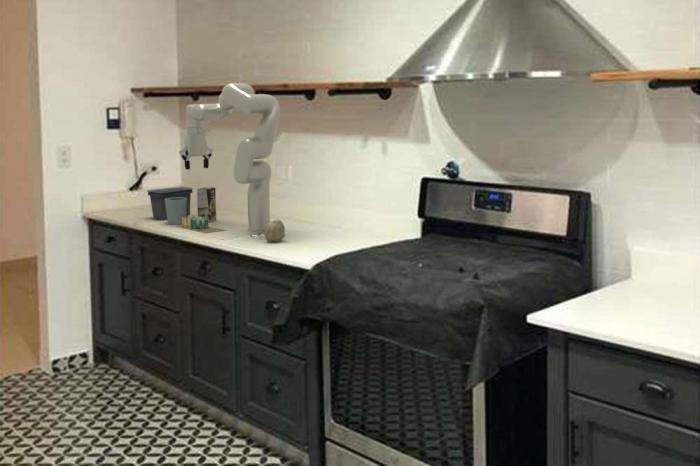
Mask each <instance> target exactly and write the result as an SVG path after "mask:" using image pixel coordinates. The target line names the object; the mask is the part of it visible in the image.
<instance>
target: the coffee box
mask: <svg viewBox="0 0 700 466" xmlns="http://www.w3.org/2000/svg"><path fill="white" fill-rule="evenodd" d="M216 194H217V193H216V187H214V186H213V187H201V188H197V189H196V201H197V202H196V206H197V217H202V218H206V219H208V224H209V223H213V222H215V221H217V201H216V200H217V199H216V198H217V196H216Z"/></svg>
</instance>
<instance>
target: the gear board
mask: <svg viewBox="0 0 700 466" xmlns="http://www.w3.org/2000/svg"><path fill="white" fill-rule="evenodd" d="M187 217H188V218H193V214H190V215H188V216H187ZM174 226H175V228H179V229H180V228H181V229H184V230H188V231H192V232H199V233H202V234H209V233H210V234H212V233H219V232H226V231H227V230H226V229H222V228H219V227H218V228H217V227H213V226H209V223H208V219H206V218H202V217H198V216H197V218H196V219H191V227H182V225H174Z"/></svg>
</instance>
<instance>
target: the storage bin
mask: <svg viewBox="0 0 700 466" xmlns="http://www.w3.org/2000/svg"><path fill="white" fill-rule="evenodd" d="M193 189H194V187H188V186H175V187H174V186H173V187H165V188H155V189H148V190H146V192H147V196H149V198H150V206H151V212H152V217H153V219H155V220H159V221H166V220H167V219H168V218H167V212H166V205H165V199H167V198H176V197H183V198H187V201H186V217H188V215H191V197H192V196H191V194H193V191H194V190H193Z"/></svg>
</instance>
